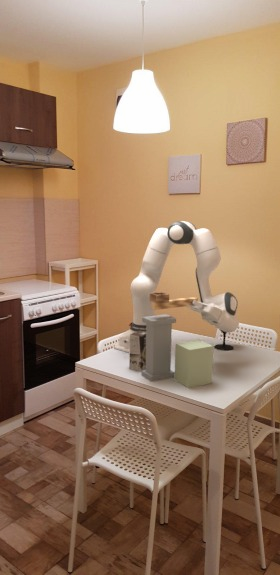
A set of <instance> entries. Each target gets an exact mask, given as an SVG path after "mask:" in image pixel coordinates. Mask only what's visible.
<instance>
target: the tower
mask: <svg viewBox="0 0 280 575" xmlns="http://www.w3.org/2000/svg"><path fill="white" fill-rule="evenodd" d="M142 322H144V323H146V368H145V369H143V370H141V371H140V372H141V377H143V378H144V379H146V380H147V381H149V382H155V381H161V380H164V379H170V378H175V371H174V370H172V369H171V364H172V363H171V362H172V361H171V360H172V332H173V331H172V330H173V329H172V327H173V325H172V324H176V323H177V318H176V317H174V316H172V315H169V314H157V315H156V314H155V316H147V317H142Z"/></svg>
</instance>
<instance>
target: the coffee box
mask: <svg viewBox="0 0 280 575" xmlns="http://www.w3.org/2000/svg"><path fill="white" fill-rule="evenodd" d="M128 367H129V369H132V370H134V371H139V372H141V371H144V370H146V331H140V330H139V331H137V332H135V333H132V334H130V353H129V366H128Z"/></svg>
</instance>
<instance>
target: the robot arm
mask: <svg viewBox="0 0 280 575" xmlns="http://www.w3.org/2000/svg"><path fill="white" fill-rule="evenodd" d="M174 244H176V245H191V247H192V248H193V251H194V254H195V257H196V264H197V265H196V268H195V279H196V283H197V289H198V294H199V298H200V299H199V300H200V301H198V302H197V301H195V300H192V302H191V303H192V304H193V306H185V307H186V308H188V309H190V310H192V311H193V312H197V313H200V315H201V319H202V320H203V321H205V322H207V324H210V325H211V326H214V327H215V328H217V329H218V330H219V329H220V330H222V331H224V332H227V334H228V333H233V332H235V331H236V330H237V329H238V328H239V325H240V321H239V319H238V316H237V310H238V300H237V297H236V296H235V295H234V294H233V293H232V292H229V291H227V292H223V293H220V294H216V295H212V292H211V287H210V280H209V279H210V276H211V274H212V273H213V272H214V270H216V268H217V267H218V266H219V265H220V263H221V259H222V258H221V253H220V252H221V251H220V249H219V247H218V246H219V245H218V244H217V242H216V239H215V237H214V235H213V234H212V232H211V230H210V229H207V228H203V227H202V228H198V229H197V228H196V226H195V224H193V223H192V222H189V221H184V220H179V221H178V220H177V221H174V222H173V223H171V224H170V225H169V226H168V228H166V227H159V228H157V229H156V230H155V232H154V233H153V234H152V236H151V238H150V241H149V242H148V244H147V246H146V247H147V248H146V250H145V252H144V255H143V258H142V263H141V266H140V270H139V273H138V276H137V277H134V278H133V280H132V281H131V284H130V287H129V290H130V293H131V299H132V307H133V308H132V309H133V311H132V314H133V315H132V317H133V318H132V319H133V321H132V322H130V323H128V327H129V329H128V330H126V331H124V333H122V334H121V335H120V336H119V339H118V342H117V343H115V344H114V349H116V350H119V351H122V352H127V353H129V354H130V334H132V333H135V332H137V331H139V330H140V331H146V323H144V322H142V317H147V316H156V310H154V309H151V301H150V293H155V292H156V290H157V289H158V286H159V283H160V281H161V277H162V274H163V270H164V267H165V264H166V262H167V259H168V257H169V255H170V251H171V249H172V247H173V245H174ZM220 330H219V331H220ZM222 331H221V332H222Z"/></svg>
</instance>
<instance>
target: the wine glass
mask: <svg viewBox="0 0 280 575" xmlns="http://www.w3.org/2000/svg"><path fill="white" fill-rule="evenodd" d="M218 330H219V331H220V332H221V333H222V334H223V335H222V336H223V339H222V340H223V341H222V343H218V344H217V343H216V344H214V346H213V349H216V350H217V351H224V352H225V351H232V350H234V349H235V348H234V346H233V345H231V344H227V343H226V336H227V334H228V332H224V331H222V330H220V329H218Z"/></svg>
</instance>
